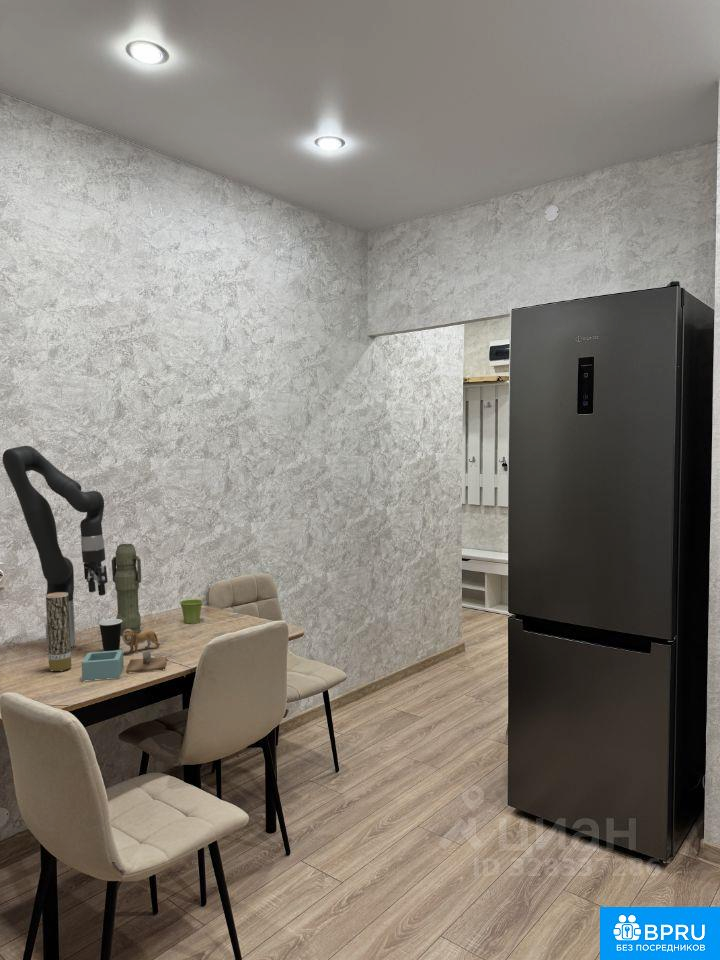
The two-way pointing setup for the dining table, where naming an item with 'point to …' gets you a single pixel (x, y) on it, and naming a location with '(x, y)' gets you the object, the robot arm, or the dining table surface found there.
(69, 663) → the paper tube
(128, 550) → the thermos
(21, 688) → the dining table surface
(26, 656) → the dining table surface
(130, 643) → the lion figurine
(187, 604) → the plant pot
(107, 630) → the dixie cup
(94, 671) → the collar
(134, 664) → the shaft block
